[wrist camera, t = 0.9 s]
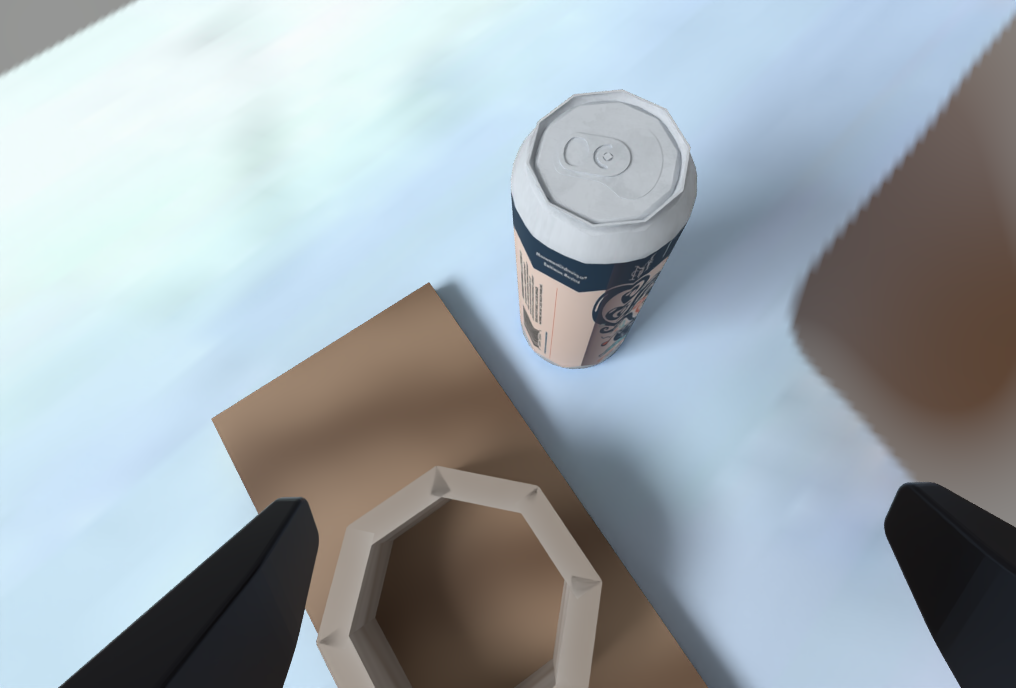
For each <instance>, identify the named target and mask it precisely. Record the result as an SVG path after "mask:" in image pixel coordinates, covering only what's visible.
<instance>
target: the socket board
mask: <svg viewBox="0 0 1016 688" xmlns="http://www.w3.org/2000/svg"><path fill="white" fill-rule="evenodd" d="M212 421H213V423H214V425H215V427H216V429H217V431H218V433H219V435H220V437H221V439H222V441H223V443H224V445H225V448H226V450H227V452H228V454H229V456H230V458H231V460H232V462H233V464H234V466H235V468H236V470H237V472H238V474H239V476H240V478H241V480H242V482H243V484H244V486H245V488H246V490H247V492H248V494H249V496H250V498H251V500H252V502H253V504H254V506H255V508H256V510H257V512H258V514H259V513H261V512H262V511H263V510H264V509H265V508H266V507H268V506H269V505H270V504H271V503H272V502H273V501H275V500H276V499H278V498H282V497H303V498H305V499H306V500H307V501H308V503H309V506H310V509H311V512H312V515H313V518H314V521H315V523H316V526H317V529H318V533H319V547H318V552H317V556H316V561H315V565H314V570H313V574H312V579H311V583H310V587H309V592H308V596H307V601H306V605H305V609H306V611H307V613H308V615H309V617H310V619H311V621H312V623H313V625H314V627H315V629H316V631H317V633H318V637H317V641H316V642H317V646H318V648H319V650H320V652H321V655H322V657H323V659H324V661H325V663H326V665H327V667H328V669H329V671H330V673H331V675H332V677H333V679H334V681H335V683H336V685H337V687H338V688H708V687H707V685H706V684H705V682H704V681H703V679H702V678H701V676H700V675H699V674H698V672H697V671H696V669H695V668H694V666H693V665H692V663H691V662H690V660H689V659H688V658H687V656H686V655H685V653H684V652H683V650H682V649H681V647H680V646H679V644H678V643H677V642H676V640H675V639H674V637H673V636H672V634H671V633H670V631H669V630H668V629H667V627H666V626H665V624H664V623H663V621H662V620H661V618H660V617H659V615H658V614H657V613H656V611H655V610H654V608H653V607H652V605H651V604H650V602H649V601H648V599H647V598H646V597H645V595H644V594H643V592H642V591H641V589H640V588H639V586H638V585H637V583H636V582H635V581H634V579H633V578H632V576H631V575H630V573H629V572H628V570H627V569H626V567H625V566H624V565H623V563H622V562H621V560H620V559H619V557H618V556H617V554H616V553H615V552H614V550H613V549H612V547H611V546H610V544H609V543H608V541H607V540H606V538H605V537H604V536H603V534H602V533H601V531H600V530H599V528H598V527H597V525H596V524H595V522H594V521H593V520H592V518H591V517H590V515H589V514H588V512H587V511H586V509H585V508H584V506H583V505H582V504H581V502H580V501H579V499H578V498H577V496H576V495H575V493H574V492H573V490H572V489H571V488H570V486H569V485H568V483H567V482H566V480H565V479H564V477H563V476H562V475H561V473H560V472H559V470H558V469H557V467H556V466H555V464H554V463H553V461H552V460H551V459H550V457H549V456H548V454H547V453H546V451H545V450H544V448H543V447H542V445H541V444H540V443H539V441H538V440H537V438H536V437H535V435H534V434H533V432H532V431H531V429H530V428H529V427H528V425H527V424H526V422H525V421H524V419H523V418H522V416H521V415H520V414H519V412H518V411H517V409H516V408H515V406H514V405H513V403H512V402H511V400H510V399H509V398H508V396H507V395H506V393H505V392H504V390H503V389H502V387H501V386H500V384H499V383H498V382H497V380H496V379H495V377H494V376H493V374H492V373H491V371H490V370H489V368H488V367H487V366H486V364H485V363H484V361H483V360H482V358H481V357H480V355H479V354H478V352H477V351H476V350H475V348H474V347H473V345H472V344H471V342H470V341H469V339H468V338H467V337H466V335H465V334H464V332H463V331H462V329H461V328H460V326H459V325H458V323H457V322H456V321H455V319H454V318H453V316H452V315H451V313H450V312H449V310H448V309H447V307H446V306H445V305H444V303H443V302H442V300H441V299H440V297H439V296H438V294H437V293H436V291H435V290H434V289H433V287H432V286H431V284H430V283H427V284H425V285H424V286H422V287H421V288H419V289H417V290H416V291H414V292H413V293H411V294H409V295H408V296H406V297H405V298H403V299H402V300H400V301H398V302H397V303H395V304H394V305H392V306H390V307H389V308H387V309H386V310H384V311H382V312H381V313H379V314H378V315H376V316H374V317H373V318H371V319H370V320H368V321H366V322H365V323H363V324H362V325H360V326H358V327H357V328H355V329H354V330H352V331H351V332H349V333H347V334H346V335H344V336H343V337H341V338H339V339H338V340H336V341H335V342H333V343H331V344H330V345H328V346H327V347H325V348H323V349H322V350H320V351H319V352H317V353H315V354H314V355H312V356H311V357H309V358H307V359H306V360H304V361H303V362H301V363H299V364H298V365H296V366H295V367H293V368H292V369H290V370H288V371H287V372H285V373H284V374H282V375H280V376H279V377H277V378H276V379H274V380H272V381H271V382H269V383H268V384H266V385H264V386H263V387H261V388H260V389H258V390H256V391H255V392H253V393H252V394H250V395H248V396H247V397H245V398H244V399H242V400H241V401H239V402H237V403H236V404H234V405H233V406H231V407H229V408H228V409H226V410H225V411H223V412H221V413H220V414H218V415H217V416H215V417H213V418H212Z"/></svg>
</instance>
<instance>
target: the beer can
mask: <svg viewBox="0 0 1016 688" xmlns="http://www.w3.org/2000/svg"><path fill="white" fill-rule="evenodd" d="M690 148H691V147H690V145H689V144H688V142H687V141H686V139H685V138H684V136H683V134H682V133H681V131H680V130H679V128H678V126H677V125H676V123H675V122H674V120H673V118H672V117H671V115H670V114H669V112H668V110H667V109H665V108H663V107H661V106H659V105H656V104H654V103H652V102H650V101H647V100H645V99H643V98H641V97H638V96H636V95H634V94H632V93H629V92H627V91H625V90H623V89H622V90H612V91H602V92H592V93H582V94H574V95H572V96H571V97H570V98H568V99H567V100H566V101H564V102H563V103H562V104H560V105H559V106H558V107H556V108H555V109H554V110H552V111H551V112H550V113H548V114H547V115H546V116H544V117H543V118H542V119H540V120H539V121H538V122H537V125H536V127H535V128H534V129H533V130H532V132H531V133H530V134H529V135H528V136H527V137H526V138H525V140H524V141H523V143H522V145H521V146H520V148H519V150H518V153H517V155H516V158H515V160H514V163H513V169H512V176H511V197H512V210H513V224H514V238H515V251H516V265H517V279H518V292H519V306H520V319H521V326H522V330H523V334H524V336H525V338H526V340H527V342H528V344H529V346H530V347H531V348H532V349H533V350H534V352H535V353H537V354H538V355H539V356H540V357H541V358H543V359H544V360H546V361H548V362H550V363H551V364H553V365H556V366H559V367H563V368H569V369H581V368H587V367H591V366H595V365H597V364H599V363H601V362H603V361H605V360H606V359H607V358H609V357H610V356H611V355H612V354H614V353H615V351H616V350H617V349H618V348H619V346H620V345H621V344H622V342H623V340H624V338H625V337H626V335H627V333H628V331H629V329H630V327H631V325H632V324H633V322H634V320H635V318H636V316H637V314H638V312H639V311H640V309H641V307H642V305H643V303H644V301H645V299H646V298H647V296H648V294H649V292H650V290H651V288H652V286H653V285H654V283H655V281H656V279H657V277H658V275H659V273H660V272H661V270H662V268H663V266H664V264H665V262H666V260H667V259H668V257H669V255H670V253H671V251H672V249H673V247H674V246H675V244H676V242H677V240H678V238H679V236H680V234H681V233H682V231H683V229H684V227H685V225H686V223H687V221H688V219H689V217H690V215H691V212H692V209H693V206H694V202H695V199H696V195H697V173H696V167H695V164H694V162H693V159H692V157H691V154H690Z"/></svg>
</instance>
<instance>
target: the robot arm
mask: <svg viewBox="0 0 1016 688" xmlns="http://www.w3.org/2000/svg"><path fill="white" fill-rule="evenodd" d="M884 529H885V534H886V537H887V539H888V542H889V544H890V546H891V548H892V550H893V553H894V555H895V557H896V559H897V561H898V564H899V566H900V568H901V570H902V572H903V575H904V577H905V579H906V581H907V583H908V586H909V588H910V590H911V592H912V594H913V597H914V599H915V601H916V603H917V605H918V608H919V610H920V612H921V614H922V616H923V618H924V621H925V623H926V625H927V627H928V629H929V631H930V633H931V635H932V637H933V639H934V641H935V643H936V644H937V646H938V648H939V650H940V652H941V654H942V656H943V657H944V659H945V661H946V663H947V664H948V666H949V668H950V670H951V671H952V673H953V675H954V676H955V678H956V680H957V682H958V683H959V685H960V687H961V688H1016V528H1015V527H1014V526H1012V525H1010V524H1009V523H1007V522H1005V521H1003V520H1001V519H1000V518H998V517H996V516H994V515H993V514H991V513H989V512H987V511H985V510H983V509H982V508H980V507H978V506H976V505H975V504H973V503H971V502H969V501H968V500H966V499H964V498H962V497H960V496H959V495H957V494H955V493H953V492H952V491H950V490H948V489H946V488H944V487H943V486H941V485H938V484H936V483H931V482H915V483H905V484H903V485H902V486H900V488H899V489H898V491H897V493H896V495H895V498H894V500H893V502H892V504H891V507H890V509H889V511H888V513H887V515H886V518H885V522H884ZM318 547H319V533H318V529H317V526H316V523H315V521H314V518H313V515H312V512H311V509H310V506H309V503H308V501H307V500H306V499H305V498H303V497H282V498H278V499H276V500H275V501H273V502H272V503H271V504H270V505H269V506H268V507H266V508H265V509H264V510H263V511H262V512H261V513H259V514H258V515H257V516H256V517H255V518H254V519H253V520H251V521H250V522H249V523H248V524H247V525H246V526H244V527H243V528H242V529H241V530H240V531H239V532H238V533H236V534H235V535H234V536H233V537H232V538H231V539H229V540H228V541H227V542H226V543H225V544H224V545H222V546H221V547H220V548H219V549H218V550H217V551H216V552H214V553H213V554H212V555H211V556H210V557H209V558H207V559H206V560H205V561H204V562H203V563H202V564H201V565H199V566H198V567H197V568H196V569H195V570H194V571H192V572H191V573H190V574H189V575H188V576H187V577H186V578H184V579H183V580H182V581H181V582H180V583H179V584H177V585H176V586H175V587H174V588H173V589H172V590H170V591H169V592H168V593H167V594H166V595H165V596H164V597H162V598H161V599H160V600H159V601H158V602H157V603H155V604H154V605H153V606H152V607H151V608H150V609H149V610H147V611H146V612H145V613H144V614H143V615H142V616H140V617H139V618H138V619H137V620H136V621H135V622H134V623H132V624H131V625H130V626H129V627H128V628H127V629H125V630H124V631H123V632H122V633H121V634H120V635H119V636H117V637H116V638H115V639H114V640H113V641H112V642H110V643H109V644H108V645H107V646H106V647H105V648H103V649H102V650H101V651H100V652H99V653H98V654H97V655H95V656H94V657H93V658H92V659H91V660H90V661H88V662H87V663H86V664H85V665H84V666H83V667H82V668H80V669H79V670H78V671H77V672H76V673H75V674H73V675H72V676H71V677H70V678H69V679H68V680H67V681H65V682H64V683H63V684H62V685H61V686H60V687H58V688H283V685H284V682H285V679H286V676H287V673H288V670H289V667H290V664H291V661H292V658H293V654H294V651H295V648H296V644H297V640H298V636H299V632H300V628H301V623H302V619H303V614H304V610H305V605H306V601H307V596H308V592H309V587H310V583H311V579H312V574H313V570H314V565H315V561H316V556H317V552H318Z"/></svg>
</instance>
